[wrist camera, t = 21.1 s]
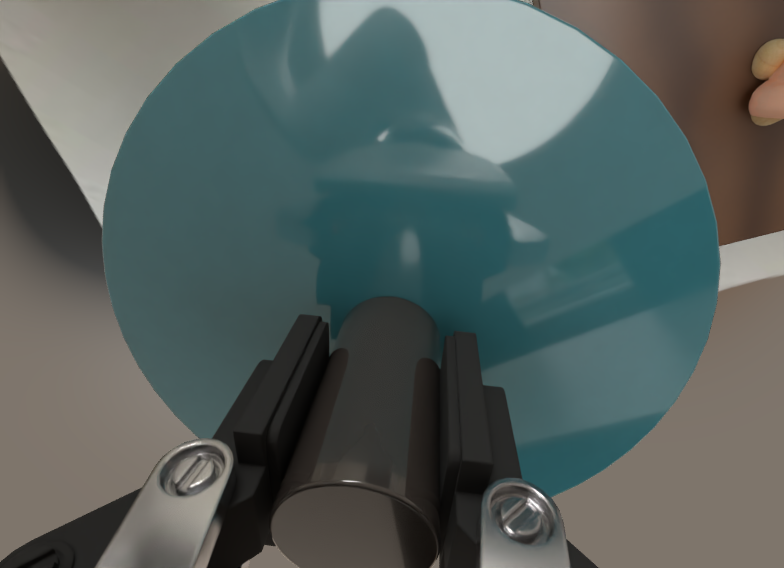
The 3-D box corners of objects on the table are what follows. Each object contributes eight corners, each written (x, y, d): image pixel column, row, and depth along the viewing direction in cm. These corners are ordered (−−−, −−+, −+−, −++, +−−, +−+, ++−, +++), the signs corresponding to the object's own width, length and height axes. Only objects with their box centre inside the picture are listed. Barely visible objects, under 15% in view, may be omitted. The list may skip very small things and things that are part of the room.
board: (581, 270, 31) (587, 279, 29) (532, -1, 24) (537, -5, 22) (956, 175, 25) (984, 181, 24) (1037, -214, 18) (1084, -237, 17)
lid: (702, 464, 15) (895, 753, 9) (276, 517, 19) (195, 738, 13) (687, -177, 8) (1843, -1324, 1) (5, 137, 12) (-487, 214, 6)
